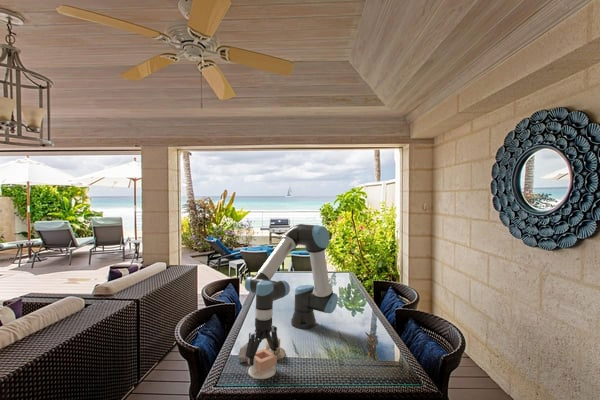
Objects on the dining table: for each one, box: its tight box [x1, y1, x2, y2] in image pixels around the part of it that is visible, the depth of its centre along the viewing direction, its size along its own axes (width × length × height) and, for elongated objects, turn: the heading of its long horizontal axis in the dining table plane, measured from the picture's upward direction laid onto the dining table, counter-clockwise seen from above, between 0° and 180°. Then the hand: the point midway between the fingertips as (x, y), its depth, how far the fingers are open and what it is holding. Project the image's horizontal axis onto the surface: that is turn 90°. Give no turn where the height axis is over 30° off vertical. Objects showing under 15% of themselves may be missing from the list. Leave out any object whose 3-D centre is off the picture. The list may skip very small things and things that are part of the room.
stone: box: [237, 342, 248, 363], centre depth 151 cm, size 8×10×6 cm
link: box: [247, 348, 278, 372], centre depth 140 cm, size 9×9×4 cm
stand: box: [262, 333, 286, 361], centre depth 156 cm, size 12×12×13 cm
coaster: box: [247, 366, 276, 380], centre depth 140 cm, size 12×12×1 cm
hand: (262, 368), depth 140 cm, fingers closed on link, 9 cm apart
